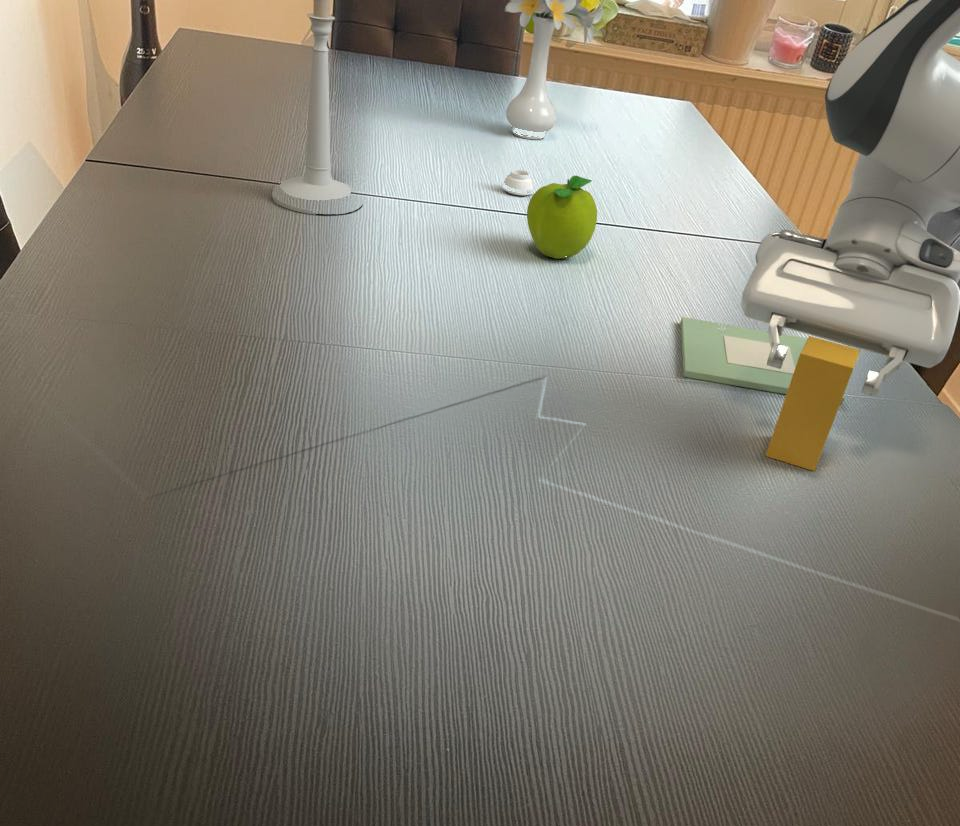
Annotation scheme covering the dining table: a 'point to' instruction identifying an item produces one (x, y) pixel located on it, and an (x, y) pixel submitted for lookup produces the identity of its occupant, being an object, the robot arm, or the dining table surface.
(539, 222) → the fruit
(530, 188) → the white jar
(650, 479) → the dining table surface
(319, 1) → the candlestick
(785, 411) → the yellow box
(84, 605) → the dining table surface
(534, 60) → the flower vase
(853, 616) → the dining table surface
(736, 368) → the mat
